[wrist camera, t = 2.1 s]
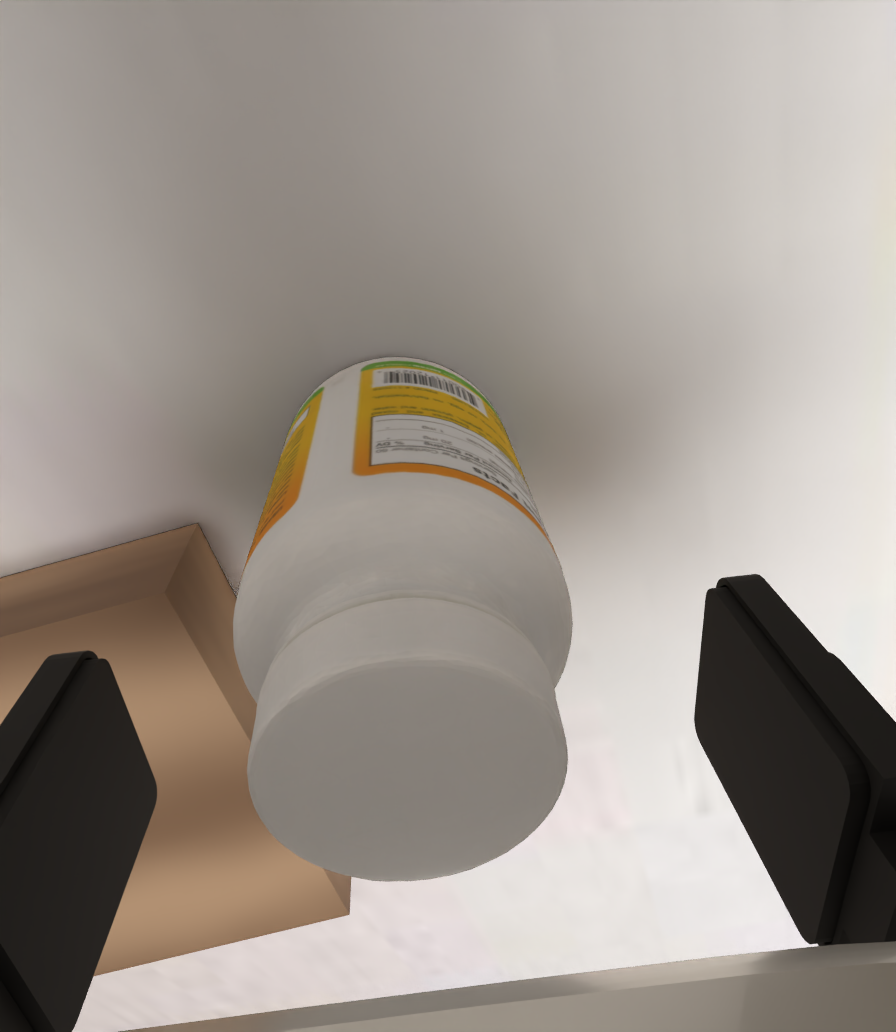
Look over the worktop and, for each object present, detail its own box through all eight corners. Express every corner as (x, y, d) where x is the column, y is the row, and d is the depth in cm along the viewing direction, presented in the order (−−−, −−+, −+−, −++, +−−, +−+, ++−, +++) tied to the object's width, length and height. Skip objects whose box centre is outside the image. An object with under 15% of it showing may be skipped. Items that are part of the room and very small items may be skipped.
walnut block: (-241, 644, 18) (-346, 731, 16) (197, 523, 18) (164, 592, 15) (16, 910, 24) (-30, 1005, 21) (353, 826, 23) (349, 914, 21)
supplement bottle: (351, 585, 19) (323, 961, 10) (241, 412, 16) (83, 721, 8) (539, 505, 18) (677, 839, 10) (454, 310, 16) (537, 530, 7)
